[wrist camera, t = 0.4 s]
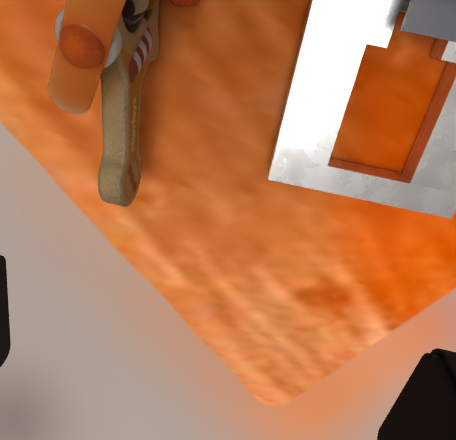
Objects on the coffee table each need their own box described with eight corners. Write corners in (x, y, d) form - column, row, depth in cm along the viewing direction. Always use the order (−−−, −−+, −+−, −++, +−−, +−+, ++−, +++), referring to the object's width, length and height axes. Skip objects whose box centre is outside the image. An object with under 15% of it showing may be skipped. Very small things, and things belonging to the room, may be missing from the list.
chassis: (355, -179, 26) (362, -197, 24) (600, -127, 26) (631, -139, 24) (268, 169, 37) (267, 179, 35) (440, 206, 37) (451, 218, 35)
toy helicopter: (209, -85, 29) (164, -151, 17) (185, 183, 39) (145, 263, 27) (96, -101, 29) (-27, -178, 17) (100, 170, 39) (22, 243, 27)
